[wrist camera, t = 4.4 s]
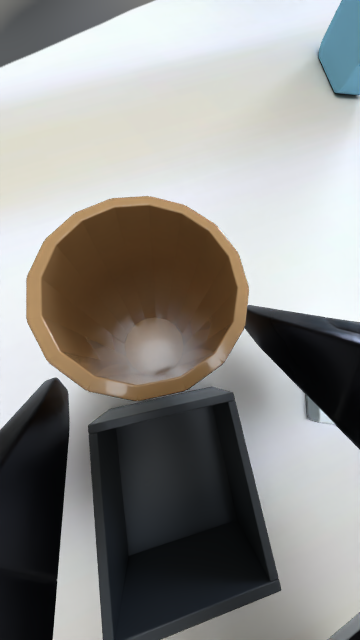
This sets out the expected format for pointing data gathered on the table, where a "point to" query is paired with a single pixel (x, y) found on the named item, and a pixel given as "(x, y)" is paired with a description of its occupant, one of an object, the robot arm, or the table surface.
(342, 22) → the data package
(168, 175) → the table surface
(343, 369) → the robot arm
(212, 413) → the bin
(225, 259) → the cup
